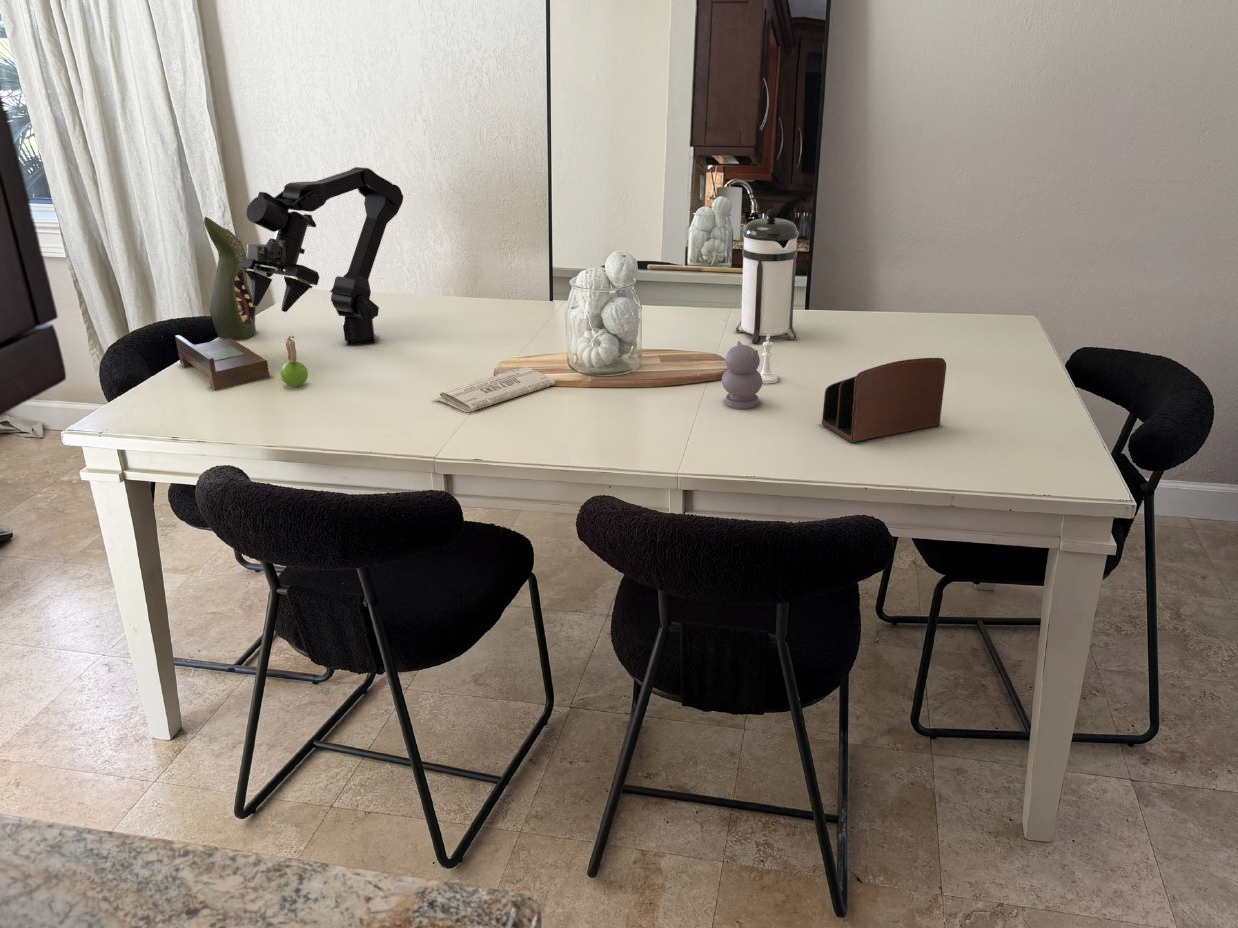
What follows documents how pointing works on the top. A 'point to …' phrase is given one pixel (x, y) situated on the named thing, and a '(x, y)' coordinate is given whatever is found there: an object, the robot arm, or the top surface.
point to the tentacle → (230, 287)
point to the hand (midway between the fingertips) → (269, 308)
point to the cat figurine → (742, 377)
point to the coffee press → (768, 277)
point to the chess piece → (767, 364)
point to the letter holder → (886, 400)
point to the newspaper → (496, 389)
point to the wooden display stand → (223, 362)
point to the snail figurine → (293, 367)
